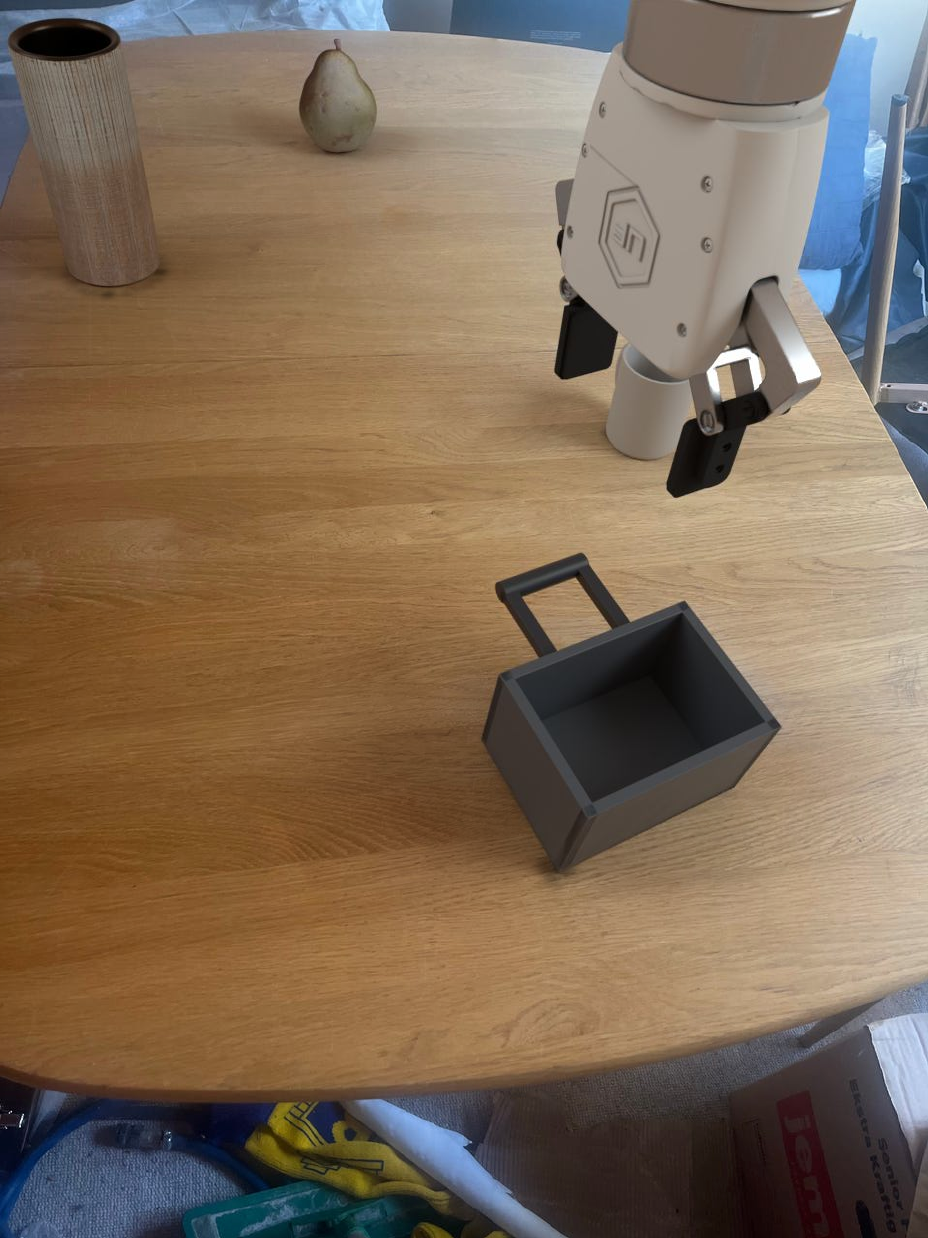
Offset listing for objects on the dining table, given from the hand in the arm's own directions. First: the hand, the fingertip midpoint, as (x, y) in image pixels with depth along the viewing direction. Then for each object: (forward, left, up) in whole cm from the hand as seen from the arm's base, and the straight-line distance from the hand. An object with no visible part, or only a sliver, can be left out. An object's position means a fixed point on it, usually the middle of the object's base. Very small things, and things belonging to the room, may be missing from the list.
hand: (635, 425), depth 47 cm
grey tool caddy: (+1, -3, -29) cm, 29 cm away
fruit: (+93, -24, -30) cm, 101 cm away
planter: (+75, +11, -30) cm, 82 cm away
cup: (+28, -27, -30) cm, 49 cm away
